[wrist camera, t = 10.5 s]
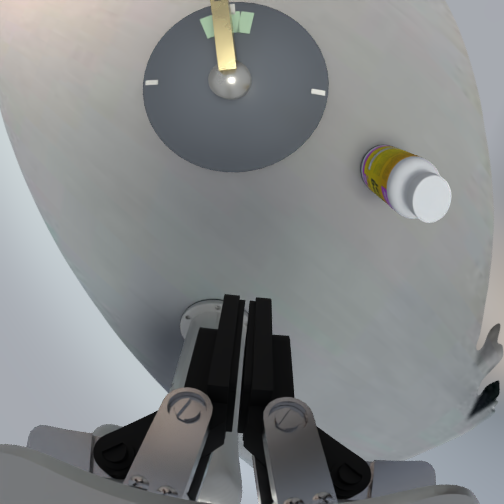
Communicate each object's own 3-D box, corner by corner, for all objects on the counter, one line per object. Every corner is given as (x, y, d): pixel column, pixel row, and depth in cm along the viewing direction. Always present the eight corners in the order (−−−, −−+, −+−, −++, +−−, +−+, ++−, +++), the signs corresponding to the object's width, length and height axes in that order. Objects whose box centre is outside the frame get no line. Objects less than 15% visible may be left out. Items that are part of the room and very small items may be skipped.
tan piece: (253, 97, 29) (252, 95, 26) (215, 102, 29) (209, 101, 26) (241, 0, 23) (238, -11, 20) (203, 6, 23) (197, -4, 20)
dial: (314, 179, 34) (315, 182, 33) (143, 165, 34) (139, 167, 33) (333, 17, 24) (335, 14, 23) (156, 9, 24) (152, 6, 23)
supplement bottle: (349, 170, 34) (389, 200, 22) (381, 133, 31) (435, 148, 20) (382, 203, 35) (427, 245, 24) (412, 169, 33) (468, 198, 21)
